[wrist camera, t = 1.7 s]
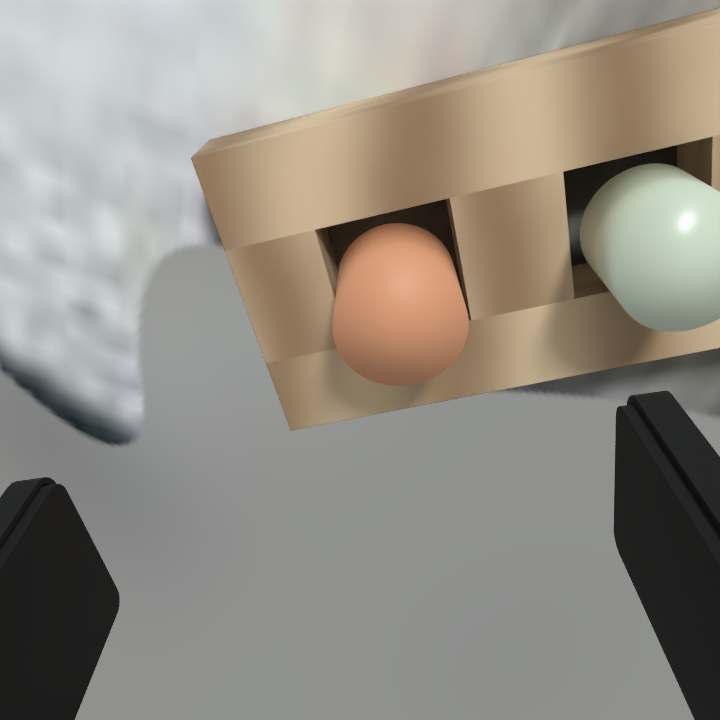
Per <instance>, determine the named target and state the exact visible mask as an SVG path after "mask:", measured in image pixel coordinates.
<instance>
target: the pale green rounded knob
mask: <svg viewBox="0 0 720 720" xmlns="http://www.w3.org/2000/svg"><path fill="white" fill-rule="evenodd" d="M580 245H581V249H582V252H583V255H584V257H585V259H586V260H587V262H588V263H589V265H590V266H591V267H592V269H593V270H594V271H595V272H596V274H597V275H598V276H599V278H600V279H601V280H602V281H603V283H604V284H605V285H606V287H607V288H608V289H609V290H610V292H611V293H612V294H613V295H614V297H615V298H616V299H617V301H618V302H619V303H620V304H621V306H622V307H623V308H624V310H625V311H626V312H627V313H628V314H629V315H630V316H631V317H632V318H633V319H634V320H636V321H637V322H638V323H640V324H642V325H644V326H646V327H648V328H651V329H654V330H659V331H666V332H680V331H687V330H692V329H696V328H699V327H702V326H705V325H708V324H710V323H712V322H714V321H716V320H718V319H719V318H720V192H719V191H717V190H716V189H714V188H712V187H711V186H709V185H707V184H706V183H704V182H702V181H701V180H699V179H697V178H695V177H694V176H692V175H690V174H689V173H687V172H685V171H684V170H682V169H680V168H678V167H675V166H672V165H668V164H660V163H651V164H644V165H639V166H635V167H632V168H630V169H627V170H625V171H623V172H621V173H619V174H617V175H616V176H614V177H613V178H611V179H610V180H609V181H607V182H606V183H605V184H604V185H603V186H602V187H601V188H600V189H599V190H598V191H597V192H596V193H595V195H594V196H593V198H592V199H591V200H590V202H589V204H588V206H587V207H586V209H585V212H584V214H583V217H582V221H581V225H580Z"/></svg>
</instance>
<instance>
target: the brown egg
mask: <svg viewBox="0 0 720 720" xmlns="http://www.w3.org/2000/svg"><path fill="white" fill-rule="evenodd" d="M468 329H469V320H468V313H467V309H466V305H465V302H464V298H463V295H462V291H461V288H460V285H459V281H458V278H457V274H456V271H455V268H454V264H453V261H452V258H451V256H450V253H449V252H448V250H447V248H446V247H445V246H444V244H443V243H442V242H441V241H440V240H439V239H438V238H437V237H436V236H435V235H433V234H432V233H430V232H429V231H427V230H425V229H423V228H420V227H418V226H415V225H410V224H404V223H390V224H384V225H381V226H377V227H374V228H372V229H370V230H368V231H366V232H365V233H363V234H361V235H360V236H359V237H358V238H356V239H355V240H354V241H353V242H352V243H351V245H350V246H349V247H348V249H347V250H346V252H345V253H344V255H343V257H342V260H341V263H340V266H339V271H338V279H337V287H336V296H335V304H334V313H333V323H332V330H333V338H334V342H335V345H336V347H337V350H338V352H339V353H340V355H341V357H342V358H343V360H344V361H345V362H346V363H347V364H348V366H349V367H350V368H351V369H353V370H354V371H355V372H356V373H358V374H359V375H361V376H363V377H364V378H366V379H369V380H371V381H373V382H376V383H380V384H384V385H390V386H407V385H414V384H418V383H422V382H425V381H427V380H430V379H432V378H434V377H436V376H438V375H439V374H441V373H442V372H444V371H445V370H446V369H447V368H448V367H449V366H451V365H452V363H453V362H454V361H455V360H456V359H457V357H458V356H459V354H460V353H461V351H462V349H463V347H464V345H465V342H466V339H467V335H468Z"/></svg>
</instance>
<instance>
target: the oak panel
mask: <svg viewBox="0 0 720 720" xmlns="http://www.w3.org/2000/svg"><path fill="white" fill-rule="evenodd" d="M675 145H677V167H678V168H680V169H682V170H684V171H685V172H687V173H689V174H690V175H692V176H694V177H695V178H697V179H699V180H701V181H702V182H704V183H706V184H707V185H709V186H711V187H712V188H714V189H716V190H717V191H719V192H720V8H718V9H714V10H710V11H706V12H702V13H699V14H695V15H691V16H687V17H683V18H679V19H675V20H672V21H668V22H664V23H660V24H656V25H652V26H648V27H644V28H641V29H637V30H633V31H629V32H625V33H621V34H617V35H614V36H610V37H606V38H602V39H598V40H594V41H590V42H587V43H583V44H579V45H575V46H571V47H567V48H563V49H560V50H556V51H552V52H548V53H544V54H540V55H536V56H533V57H529V58H525V59H521V60H517V61H513V62H509V63H505V64H502V65H498V66H494V67H490V68H486V69H482V70H478V71H475V72H471V73H467V74H463V75H459V76H455V77H451V78H448V79H444V80H440V81H436V82H432V83H428V84H424V85H421V86H417V87H413V88H409V89H405V90H401V91H397V92H394V93H390V94H386V95H382V96H378V97H374V98H370V99H366V100H363V101H359V102H355V103H351V104H347V105H343V106H339V107H336V108H332V109H328V110H324V111H320V112H316V113H312V114H309V115H305V116H301V117H297V118H293V119H289V120H285V121H282V122H278V123H274V124H270V125H266V126H262V127H258V128H255V129H251V130H247V131H243V132H239V133H235V134H231V135H228V136H224V137H220V138H216V139H212V140H209V141H208V142H207V143H206V144H205V145H204V146H203V147H202V148H201V149H200V150H199V151H198V152H197V153H196V154H194V155H193V156H192V157H191V160H192V162H193V165H194V168H195V171H196V173H197V176H198V179H199V182H200V184H201V187H202V190H203V192H204V195H205V198H206V201H207V203H208V206H209V209H210V212H211V214H212V217H213V220H214V222H215V225H216V228H217V231H218V233H219V236H220V239H221V242H222V244H223V247H224V250H225V252H226V255H227V258H228V261H229V263H230V266H231V269H232V272H233V274H234V277H235V280H236V283H237V285H238V288H239V291H240V293H241V296H242V299H243V301H244V304H245V307H246V310H247V313H248V315H249V318H250V321H251V323H252V326H253V329H254V332H255V334H256V337H257V340H258V343H259V345H260V348H261V351H262V353H263V356H264V359H265V362H266V364H267V367H268V370H269V373H270V375H271V378H272V381H273V383H274V386H275V389H276V391H277V394H278V397H279V400H280V403H281V405H282V408H283V411H284V413H285V416H286V419H287V422H288V424H289V427H290V430H296V429H301V428H306V427H312V426H317V425H322V424H327V423H332V422H337V421H342V420H348V419H353V418H358V417H363V416H369V415H374V414H379V413H384V412H389V411H394V410H400V409H405V408H410V407H415V406H420V405H426V404H431V403H436V402H441V401H446V400H451V399H457V398H462V397H467V396H472V395H477V394H483V393H488V392H493V391H498V390H503V389H509V388H514V387H519V386H524V385H529V384H535V383H540V382H545V381H550V380H555V379H560V378H566V377H571V376H576V375H581V374H586V373H592V372H597V371H602V370H607V369H612V368H617V367H623V366H628V365H633V364H638V363H643V362H649V361H654V360H659V359H664V358H669V357H674V356H680V355H685V354H690V353H695V352H700V351H706V350H711V349H716V348H720V318H719V319H718V320H716V321H714V322H712V323H710V324H708V325H705V326H702V327H699V328H696V329H692V330H687V331H680V332H666V331H659V330H654V329H651V328H648V327H646V326H644V325H642V324H640V323H638V322H637V321H636V320H634V319H633V318H632V317H631V316H630V315H629V314H628V313H627V312H626V311H625V310H624V308H623V307H622V306H621V304H620V303H619V302H618V301H617V299H616V298H615V297H614V295H613V294H612V293H611V292H610V290H609V289H608V288H607V287H606V285H605V284H604V283H603V281H602V280H601V279H600V278H599V276H598V275H597V274H596V272H595V271H594V270H593V269H592V267H591V266H590V265H589V263H583V264H579V265H574V266H572V265H571V254H570V243H569V231H568V220H567V209H566V198H565V186H564V175H563V172H564V171H568V170H572V169H576V168H581V167H585V166H589V165H594V164H598V163H602V162H606V161H611V160H615V159H619V158H623V157H628V156H632V155H636V154H640V153H645V152H649V151H653V150H658V149H662V148H666V147H670V146H675ZM444 199H446V203H447V208H448V214H449V219H450V225H451V230H452V236H453V241H454V247H455V252H456V258H457V263H458V269H459V274H460V280H461V286H462V290H461V291H462V295H463V298H464V302H465V305H466V309H467V313H468V320H469V329H468V335H467V339H466V342H465V345H464V347H463V349H462V351H461V353H460V354H459V356H458V357H457V359H456V360H455V361H454V362H453V363H452V365H451V366H449V367H448V368H447V369H446V370H445V371H444V372H442V373H441V374H439V375H438V376H436V377H434V378H432V379H430V380H427V381H425V382H422V383H418V384H414V385H407V386H390V385H384V384H380V383H376V382H373V381H371V380H369V379H366V378H364V377H363V376H361V375H359V374H358V373H356V372H355V371H354V370H353V369H351V368H350V367H349V366H348V364H347V363H346V362H345V361H344V360H343V358H342V357H341V355H340V353H339V352H338V350H337V347H336V345H335V342H334V338H333V330H332V323H333V313H334V304H335V296H336V287H337V279H338V271H339V270H338V267H337V263H336V260H335V256H334V252H333V249H332V245H331V242H330V238H329V235H328V231H327V227H329V226H333V225H337V224H342V223H346V222H350V221H355V220H359V219H363V218H367V217H372V216H376V215H380V214H384V213H389V212H393V211H397V210H401V209H406V208H410V207H414V206H419V205H423V204H427V203H431V202H436V201H440V200H444Z"/></svg>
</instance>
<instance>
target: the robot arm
mask: <svg viewBox="0 0 720 720" xmlns="http://www.w3.org/2000/svg"><path fill="white" fill-rule="evenodd" d="M615 447H616V448H615V495H614V536H615V541H616V545H617V548H618V551H619V554H620V556H621V558H622V561H623V563H624V565H625V567H626V569H627V572H628V574H629V576H630V578H631V580H632V583H633V585H634V587H635V589H636V591H637V593H638V596H639V598H640V600H641V602H642V604H643V606H644V609H645V611H646V613H647V615H648V618H649V620H650V622H651V624H652V626H653V629H654V631H655V633H656V635H657V638H658V640H659V642H660V644H661V646H662V649H663V651H664V653H665V655H666V657H667V660H668V662H669V664H670V666H671V668H672V671H673V673H674V675H675V677H676V679H677V681H678V684H679V686H680V688H681V690H682V693H683V695H684V697H685V699H686V701H687V704H688V706H689V708H690V710H691V713H692V715H693V717H694V719H695V720H720V457H719V455H718V454H717V453H716V451H715V450H714V449H713V448H712V446H711V445H710V444H709V442H708V441H707V440H706V438H705V437H704V436H703V434H702V433H701V432H700V431H699V429H698V428H697V427H696V426H695V424H694V423H693V421H692V420H691V419H690V418H689V416H688V415H687V414H686V412H685V411H684V410H683V408H682V407H681V406H680V404H679V403H678V402H677V400H676V399H675V398H674V397H673V395H672V394H671V393H670V392H668V391H660V392H653V393H646V394H639V395H632V396H630V397H629V398H628V401H627V405H626V406H619V407H618V408H617V411H616V446H615ZM118 609H119V592H118V590H117V588H116V586H115V584H114V582H113V580H112V578H111V576H110V574H109V572H108V570H107V568H106V566H105V564H104V562H103V560H102V558H101V556H100V554H99V552H98V550H97V549H96V547H95V545H94V543H93V541H92V539H91V537H90V535H89V533H88V531H87V529H86V527H85V525H84V523H83V521H82V519H81V518H80V515H79V514H78V512H77V510H76V508H75V506H74V504H73V502H72V500H71V498H70V496H69V494H68V492H67V490H66V489H65V487H64V486H62V485H61V484H56V483H55V481H54V480H52V479H51V478H46V477H44V478H37V479H30V480H22V481H16V482H14V483H12V484H11V485H10V486H9V487H8V488H7V489H6V490H5V492H4V493H3V495H2V496H1V497H0V720H75V717H76V715H77V712H78V710H79V707H80V705H81V702H82V700H83V697H84V695H85V692H86V690H87V687H88V685H89V682H90V680H91V677H92V675H93V672H94V670H95V667H96V665H97V662H98V660H99V657H100V655H101V652H102V650H103V648H104V645H105V643H106V640H107V638H108V635H109V633H110V630H111V627H112V625H113V623H114V620H115V618H116V615H117V613H118Z"/></svg>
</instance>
